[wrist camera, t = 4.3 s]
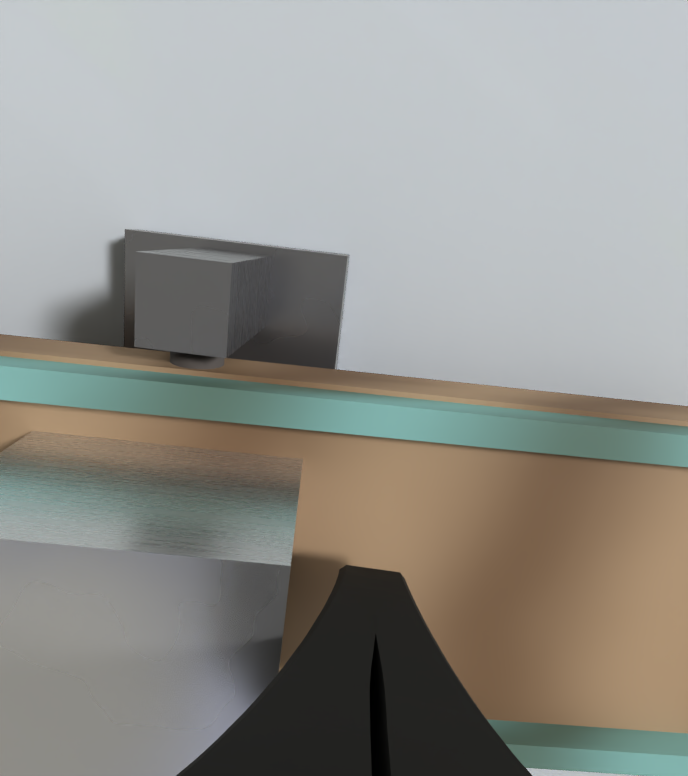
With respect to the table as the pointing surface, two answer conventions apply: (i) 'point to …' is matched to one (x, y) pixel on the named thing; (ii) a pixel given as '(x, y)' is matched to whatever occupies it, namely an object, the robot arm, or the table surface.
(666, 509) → the balance beam
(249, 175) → the table surface
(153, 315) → the beam stand
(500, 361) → the table surface
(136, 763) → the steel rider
